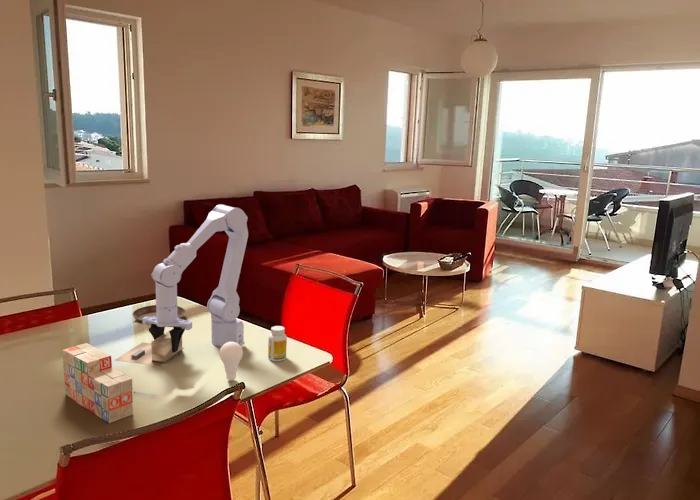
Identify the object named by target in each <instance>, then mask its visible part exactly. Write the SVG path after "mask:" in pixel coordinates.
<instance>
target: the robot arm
mask: <svg viewBox="0 0 700 500" xmlns="http://www.w3.org/2000/svg"><path fill="white" fill-rule="evenodd" d="M248 218H249V217H248V215H247V214H246V213H245V212H244V210H243V209H241V208H240V207H233V206H230V205H226V204H222V203H220V204H217V205H216V206H215V207H214V208H213V209H212V210H211V211H209V212H208V215H207V217H206V219H205V220H204V222H202V224H201V225H200V227H199V228H197V229H196V231H195V232H194V234H193V235H191V238H189V240H188V241H187V242H182V243H180V244H177V245H175V246H174V247H173V248H174V250H173V251H172V252H171V253H170V254H169V256H167V258H164V259H163V260H162V262H161V263H158V264H156V265H155V267H154V268H153V271H152V273H150V275H151V278H152V279H153V281H154V282H155V305H156V316H157V317H147V316H146V317H144V318H142V323H141V325H143V326H147V325H149V326H150V327H149V328H148V332H149V333H150V335H151V336H152V338H153V341H154V340H155V339H157V338H158V337H160V336H161V335H163V334H164V333H165V328H172V329H169V330H170V331H169V330H168V331H169V333H170V336H171V341H172V352H174V353H175V352H176V351H178V347H179V343H180V340H181V337H182V338H183V334H184V333H185V330H186V331H191V330H192V329H193V321H190V320H185V319H183V318H182V319H179V318H178V317H177V306H178V283H179V282H180V281H181V279H182V274H183V272H184V271H185V270H186V269H187V268H188V266H190V264H191V263H192V262H193V261H194V259H195V258H196V257H197V251H198V249H199V248H201V247H202V246H203V245H204V244H205V243H206V242H207V241H208V240H209V239H210V238H211V237H212V236H213V235H214V234H215V233H216V232H218V233H219V232H223V231H224V232H225V233H226V235H227V236H228V242H227V246H226V252H225V255H224V259H223V264H222V269H221V273H220V278H219V283H218V286H217V287H216V288H215V289H214V290H213V291H212V293H211V296H210V298H209V299H208V301H207V305H206V309H207V311H208V313H210V317H211V323H210V325H211V344H212V345H214V346H216V347H222V346H223V345H224V344H225V343H227V342H236V343H238V344H239V345H240V346H241V347H242V346H243V345H244V344H245V341H244V337H245V336H244V333H245V331H244V329H245V328H244V327H245V326H244V322H243V320H238V319H237V318H238V316H239V315H240V312H241V311H240V310H241V309H240V305H239V304H240V296H239V294H238V292H237V289H238V284H239V279H240V274H241V269H242V264H243V261H244V256H245V252H246V248H247V242H248V238H249V230H248V224H247V222H248Z"/></svg>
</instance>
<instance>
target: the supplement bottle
mask: <svg viewBox="0 0 700 500" xmlns="http://www.w3.org/2000/svg"><path fill="white" fill-rule="evenodd" d="M285 329H286V328H285V327H284V326H282V325H274V326H271V328H270V332H271V333H270V334H269V335H268V340H267V341H268V351H267V357H268V360H270V361H272V362H283V361H285V360H287V359H286V358H287V343H288V342H287V334H285V332H286V330H285Z"/></svg>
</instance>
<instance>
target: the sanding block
mask: <svg viewBox="0 0 700 500" xmlns="http://www.w3.org/2000/svg"><path fill="white" fill-rule="evenodd" d="M170 330H171V329H169V330H168V331H165V332H164V334H163V335H161V336H160V337H158V338H157V339H155V340H154V339H153V340H152V341H151V348H152V362H155V363H163V364H162V365H164V364H167V363H168V362H170V360H172V359H173V358H174V357H176V356H177V355H179V354H180V353H181V352H183V349H182V347H183V336H182V337H181V340H180V343H179V347H178V351H176V352H175V353H174V352H172V341H171V336H170V333H169V331H170Z"/></svg>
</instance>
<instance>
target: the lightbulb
mask: <svg viewBox="0 0 700 500" xmlns="http://www.w3.org/2000/svg"><path fill="white" fill-rule="evenodd" d="M243 351H244V350H243V348H242V346H240V345H239V344H238V343H236V342H227V343H225V344H224V345H223V346H220V349H219V358H220V360H221V362H222V364H223V365H224V370H225V374H226V375H225V376H226V379H227V380H228V381H229V382H233V381H234V380H236V378H237V371H238V366H239V363H240V362H241V360H242V358H243V356H244V352H243Z"/></svg>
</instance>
